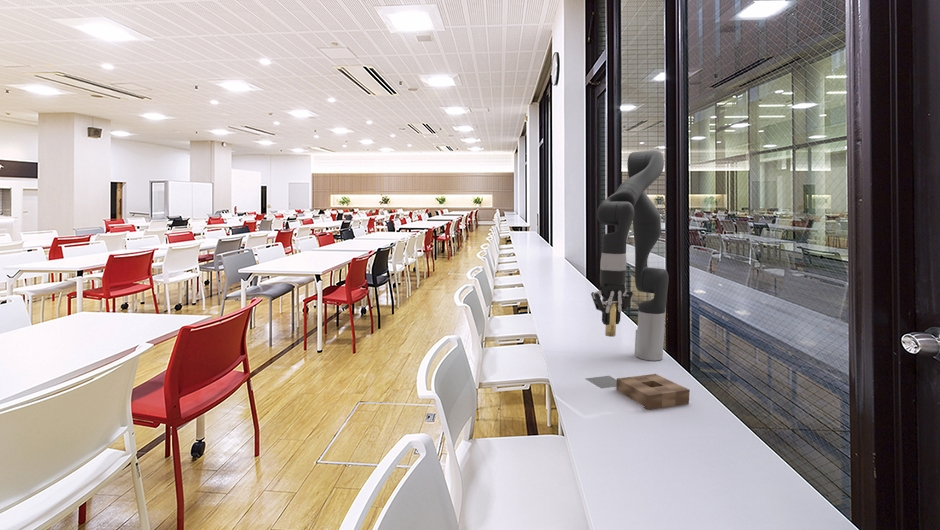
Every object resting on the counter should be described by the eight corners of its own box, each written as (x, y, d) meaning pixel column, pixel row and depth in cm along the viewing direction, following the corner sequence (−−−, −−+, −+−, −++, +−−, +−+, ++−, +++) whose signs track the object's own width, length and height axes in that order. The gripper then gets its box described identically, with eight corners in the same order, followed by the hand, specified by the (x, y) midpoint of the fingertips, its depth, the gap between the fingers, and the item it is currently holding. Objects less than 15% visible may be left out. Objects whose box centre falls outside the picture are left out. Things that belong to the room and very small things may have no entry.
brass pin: (603, 334, 150) (604, 302, 149) (611, 333, 151) (612, 302, 150) (609, 336, 148) (610, 304, 146) (617, 336, 148) (618, 303, 147)
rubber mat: (584, 379, 155) (584, 378, 155) (609, 377, 158) (609, 375, 158) (601, 389, 146) (601, 388, 146) (626, 386, 149) (626, 385, 149)
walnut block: (616, 391, 145) (616, 378, 145) (654, 386, 150) (655, 373, 149) (647, 409, 132) (648, 395, 131) (688, 403, 136) (689, 389, 136)
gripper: (625, 266, 153) (622, 320, 155) (586, 267, 148) (584, 322, 150) (640, 268, 146) (637, 325, 148) (600, 270, 141) (597, 328, 143)
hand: (610, 323), depth 149 cm, fingers closed on brass pin, 3 cm apart
